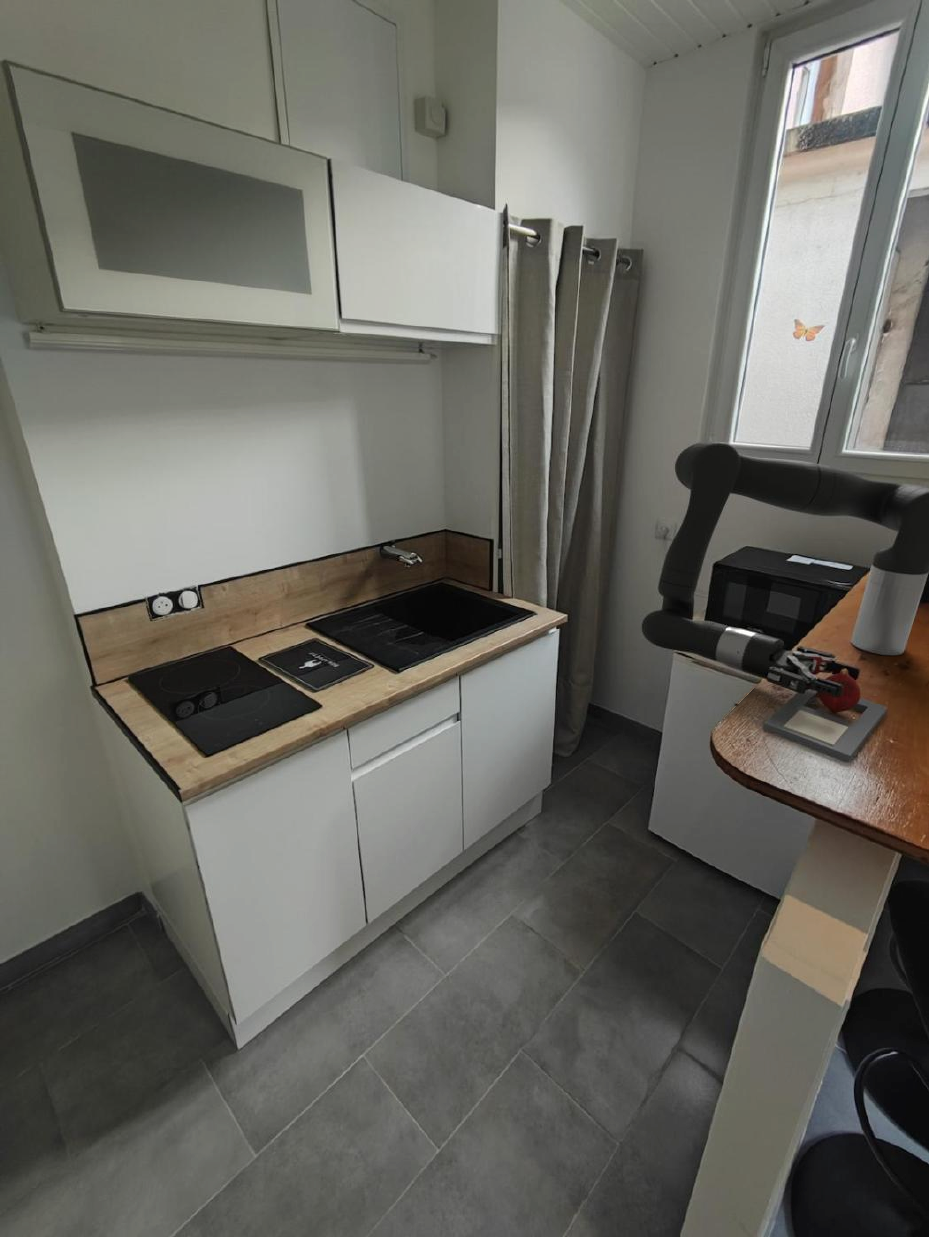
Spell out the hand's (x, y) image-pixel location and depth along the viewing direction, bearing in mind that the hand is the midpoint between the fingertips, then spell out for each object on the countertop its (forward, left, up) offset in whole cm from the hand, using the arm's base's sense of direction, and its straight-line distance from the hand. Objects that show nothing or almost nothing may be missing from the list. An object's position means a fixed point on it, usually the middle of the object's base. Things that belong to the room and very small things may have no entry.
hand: (850, 683), depth 92 cm
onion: (0, -1, -6) cm, 6 cm away
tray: (+4, -1, -6) cm, 7 cm away
